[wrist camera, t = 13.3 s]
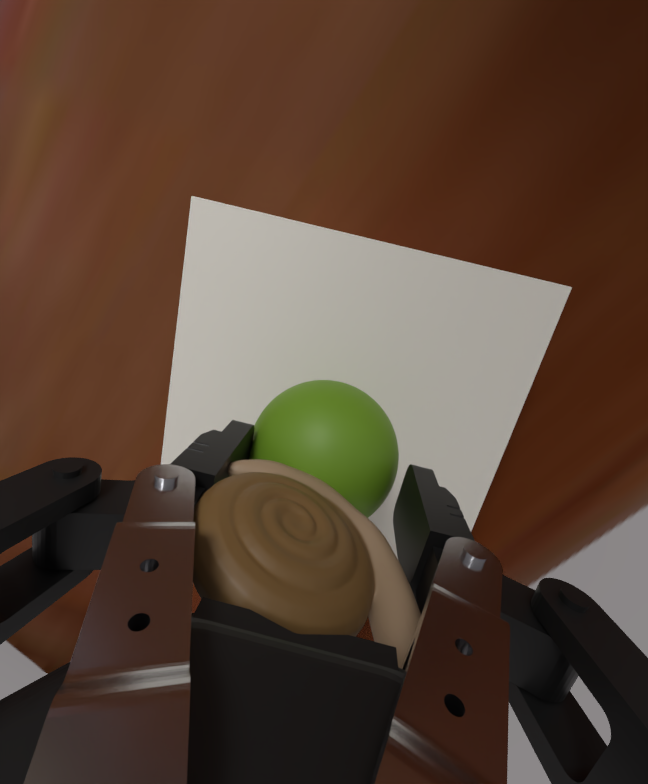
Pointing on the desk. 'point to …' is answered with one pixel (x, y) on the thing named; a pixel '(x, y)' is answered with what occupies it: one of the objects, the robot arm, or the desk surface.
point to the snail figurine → (309, 520)
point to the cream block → (356, 340)
